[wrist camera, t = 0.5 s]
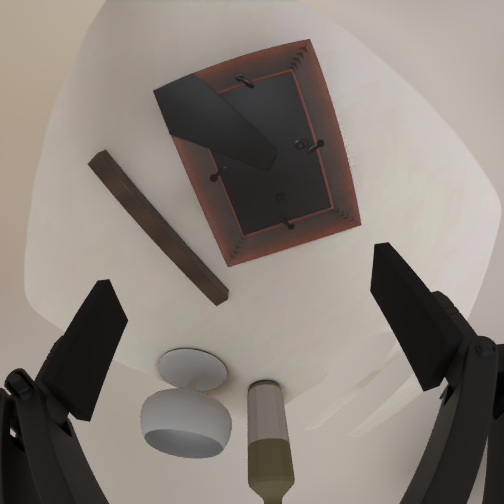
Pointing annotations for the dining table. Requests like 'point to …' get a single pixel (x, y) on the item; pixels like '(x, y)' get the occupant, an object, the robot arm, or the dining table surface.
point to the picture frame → (262, 150)
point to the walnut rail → (157, 227)
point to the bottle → (268, 443)
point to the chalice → (187, 407)
